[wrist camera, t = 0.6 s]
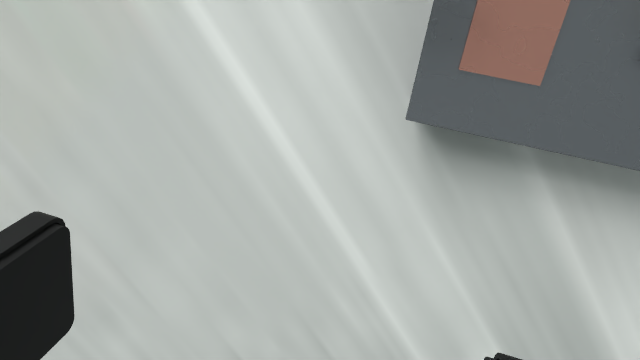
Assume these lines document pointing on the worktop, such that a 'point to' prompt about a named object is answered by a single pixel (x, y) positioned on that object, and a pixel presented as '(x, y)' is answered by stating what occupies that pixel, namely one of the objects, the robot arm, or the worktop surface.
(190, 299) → the worktop surface
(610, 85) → the breaker panel
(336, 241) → the worktop surface
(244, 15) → the worktop surface
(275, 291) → the worktop surface
